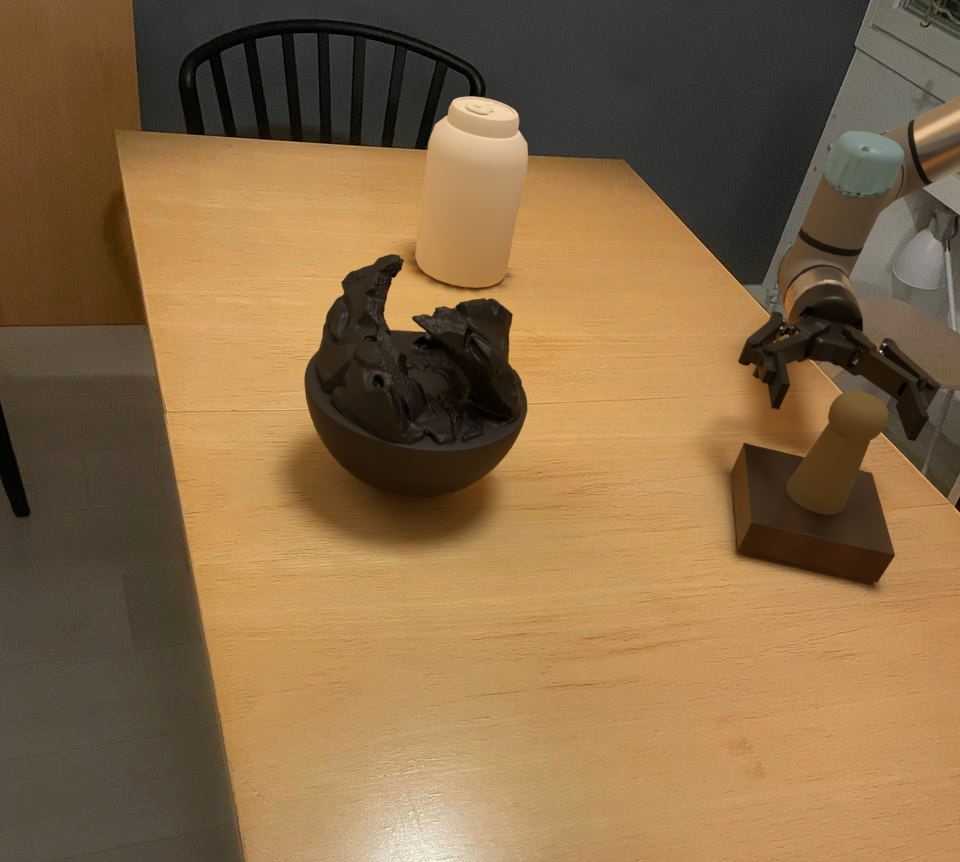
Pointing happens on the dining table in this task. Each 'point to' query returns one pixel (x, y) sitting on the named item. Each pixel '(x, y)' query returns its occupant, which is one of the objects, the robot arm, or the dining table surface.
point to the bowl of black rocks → (414, 389)
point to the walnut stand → (807, 521)
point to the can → (471, 193)
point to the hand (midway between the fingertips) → (849, 412)
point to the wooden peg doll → (838, 453)
